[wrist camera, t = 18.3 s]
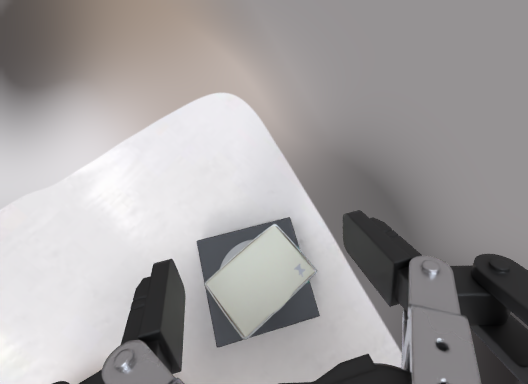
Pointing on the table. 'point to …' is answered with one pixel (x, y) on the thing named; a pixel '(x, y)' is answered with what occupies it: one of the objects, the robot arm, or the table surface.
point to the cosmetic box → (259, 280)
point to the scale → (226, 247)
